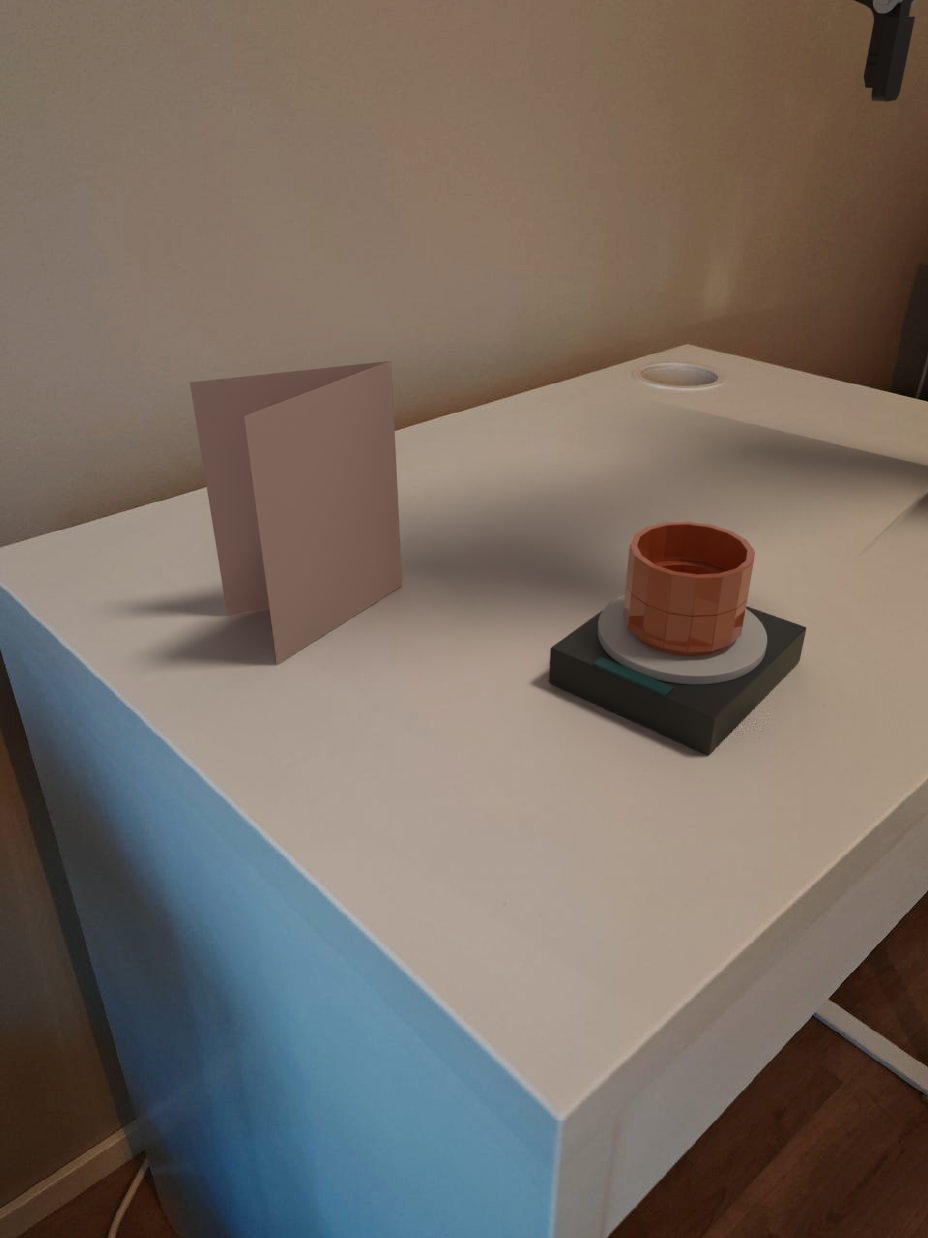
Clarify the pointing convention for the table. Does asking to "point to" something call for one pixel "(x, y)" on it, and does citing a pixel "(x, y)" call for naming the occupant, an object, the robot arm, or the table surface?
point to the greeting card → (302, 494)
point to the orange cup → (687, 587)
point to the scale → (676, 675)
